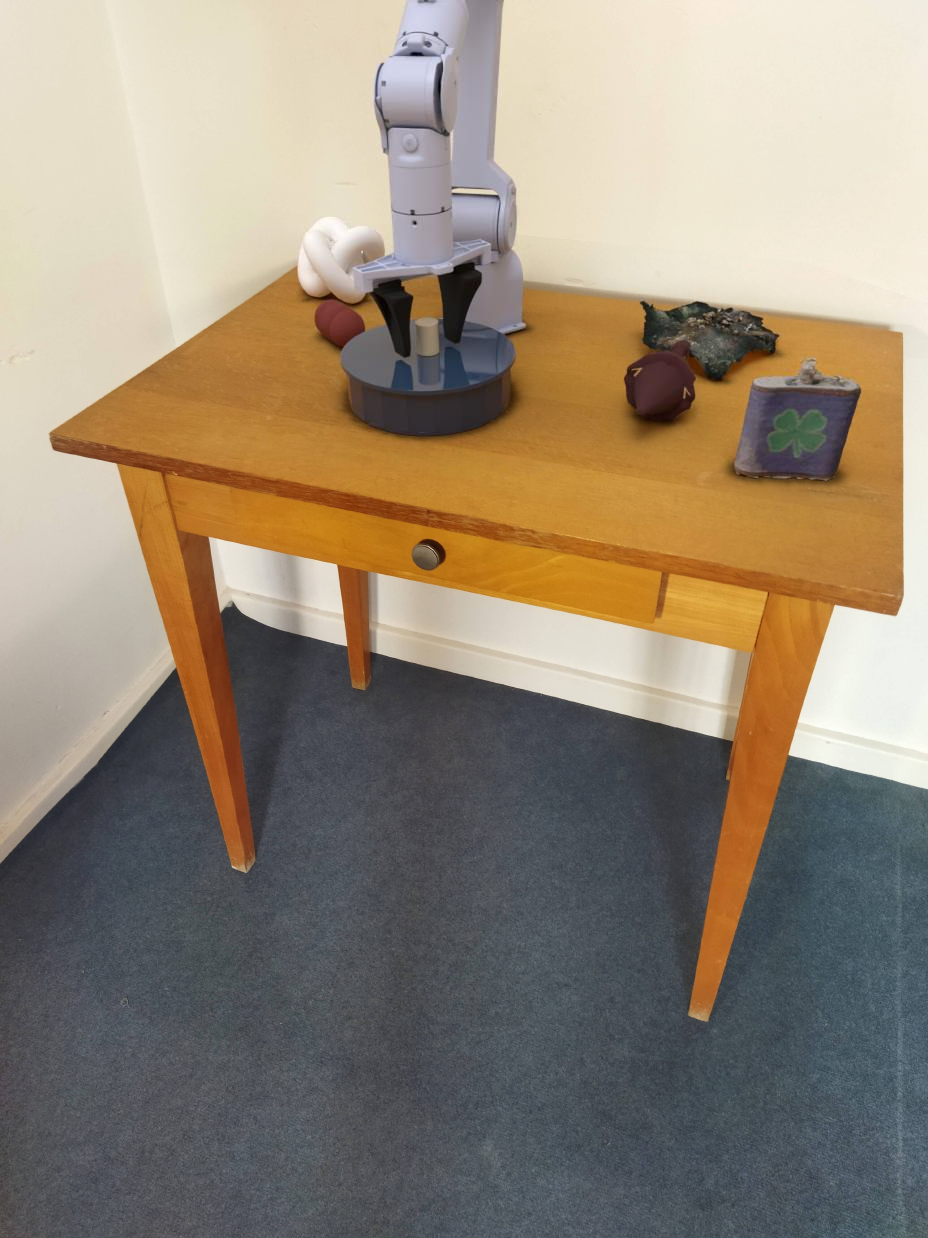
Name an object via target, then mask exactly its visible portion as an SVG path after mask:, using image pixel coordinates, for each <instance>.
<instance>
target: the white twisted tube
mask: <svg viewBox="0 0 928 1238" xmlns="http://www.w3.org/2000/svg"><path fill="white" fill-rule="evenodd" d="M332 242H333V243H332ZM384 256H386V247H385V241H384V239H383V236H382V235H381V234H380V233H379V232H378V230H377V229H376V228H374V227H372V226H369V225H368V226H367V225H356V226H353V227H351V226H350V225H349V224H348V223H347V222H346V221H344V220H343V219H342V218H339V217H337V216H325V217H322V218H320V219H318V220H317V221H315V223H313V224H312V226H311V227H310V228H309V229H308V230H307V231H306V232H305V234H304V235H303V238H302V241H301V246H300V249H299V251H298V257H297V268H296V269H297V277H298V282H299V284H300V286H301V288H302V289H303V290H304V291H305V293H306V294H307V295H309V296H310V297H315V298H322V297H325V296H328V295H330V294H331V293H332V294H333V295H334V296H335V297H336V298H337V299H339V300H341V302H345V303H348V304H357V303H360V302H361V301H363V299H364V298H365V296H366V294H367V293H365V294H364V293H363V292H361V291H359V290H358V289H356V288H355V286H354V276H353V267H357V266H361V265H364V264H367V263H370V262H372V261H374V260H377V259H379V258H382V257H384Z"/></svg>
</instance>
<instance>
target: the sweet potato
mask: <svg viewBox="0 0 928 1238" xmlns="http://www.w3.org/2000/svg"><path fill="white" fill-rule="evenodd" d="M314 325H315V326H316V327H315V328H317V330H318V331H319V332H320V333H321V334H322V335H323V336H324V337H325V338H327V339H328V340H329V341H331V342H332V343H334V344H335V345H337V346H339V347H341V348H342V349H343V348H344V346H345V345H346V344H347V343H348V342H349V341H350V340H351V339H353V338H354V337H356V336H357V335H359V334H361V333H363V332H365V331H366V324H365V321H364V319H363V317H362V316H361V315H360V314H359V313H358V312H357V311H355V310H354V309H352V308H351V307H349V306H348V305H346V304H345V303H343V301H339V300H337V299H327V300H324V301H323V302H321V303H320V304H319V305H318V306H317V308H316V309H315V312H314Z"/></svg>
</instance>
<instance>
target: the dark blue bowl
mask: <svg viewBox="0 0 928 1238" xmlns="http://www.w3.org/2000/svg"><path fill="white" fill-rule="evenodd" d="M511 370H512V368H511V369H510V370H509V371H508V372H507V373H506V374H504V375H503V376H502V377H500V378H498V379H497V380H495V381H493V382H491V383H488V384H486V385H483V386H480V387H478V388H474V389H470V390H467V391H462V392H457V393H450V394H441V395H404V394H395V393H389V392H384V391H380V390H376V389H372V388H370V387H367V386H364V385H362V384H360V383H358V382H356V381H354V380H353V379H351V378H350V377H349V376H348V375H347V374H346V373H345V379H346V387H347V396H348V401H349V406H350V408H351V411H352V412H353V413H354V415H355V417H357V418H358V420H360V421H362V422H363V423H365V424H367V425H369V426H371V427H373V428H376V429H378V430H381V431H384V432H388V433H393V434H399V435H404V436H405V435H406V436H416V437H417V436H418V437H430V436H431V437H432V436H444V435H445V436H446V435H453V434H459V433H462V432H467V431H470V430H474V429H477V428H480V427H482V426H485V425H487V424H489V423H491V422H493V421H494V420H495V419H497V418H498V417H500V416H501V415H502V414H503V413H504V412H505V410H507V408H508V406H509V404H510V400H511V376H512V375H511V374H512V373H511V372H512V371H511Z"/></svg>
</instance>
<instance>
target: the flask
mask: <svg viewBox="0 0 928 1238" xmlns="http://www.w3.org/2000/svg"><path fill="white" fill-rule="evenodd" d="M805 361H806V362H804V360H803V359H800V360H799V363H802V364H801V367H800V370H798V371H796V373H797V375H782V376H779V375H778V376H760V377H757V378H755V379H754V380H752V382H751V385H750V390H749V396H748V401H747V405H746V409H745V414H744V419H743V424H742V427H741V428H742V429H741V433H740V436H739V437H740V438H739V441H738V447H737V450H736V451H737V452H736V454H735V455H736V456H735V460H734V463H733V467H734V469H733V470H734V471H735V473H736V475H743V476H745V477H749V478H754V479H755V478H756V479H757V478H758V479H759V477H761V478H773V479H780V480H781V479H783V480H787V479H790V478H796V479H798V480H802V479H809V480H812V481H813V480H821V481H830V480H831V479H835V478H836V476H835V475H836V473H837V471H838V468H839V466H840V462H841V458H842V456H843V452H844V449H845V446H846V443H847V439H848V435H849V432H850V428H851V426H852V423H853V419H854V416H855V412H856V409H857V406H858V402H859V399H860V397H861V394H862V388H861V386H860V384H859V383H857V382H856V381H855V380H853V379H851V378H844V377H842V375H835V374H834V375H832V376H830V375H823V374H822V372H820V371H819V370H818V369H816V365H817V364H818V363H819V362H818V361H817V358H815V357H807V358H805Z"/></svg>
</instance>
